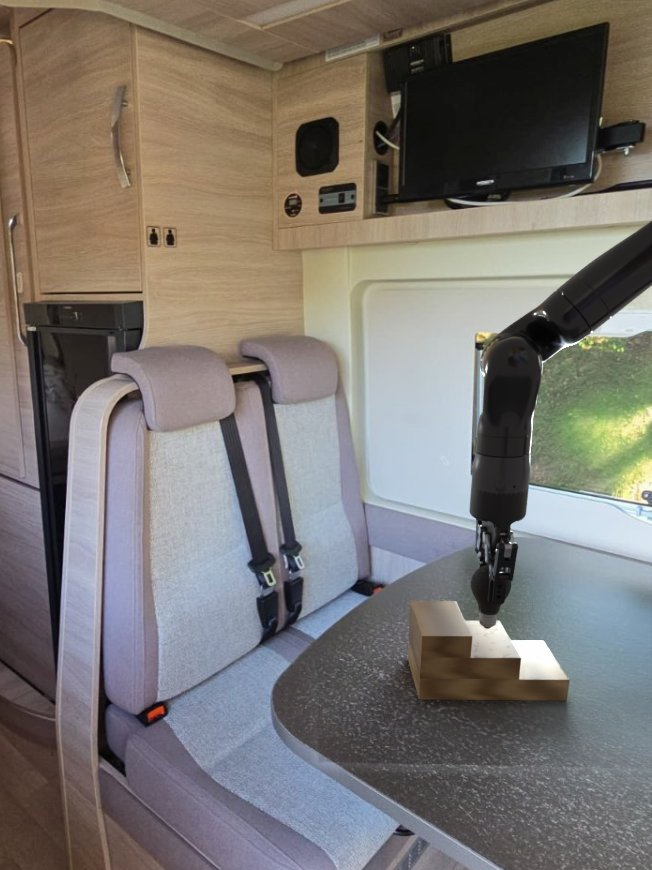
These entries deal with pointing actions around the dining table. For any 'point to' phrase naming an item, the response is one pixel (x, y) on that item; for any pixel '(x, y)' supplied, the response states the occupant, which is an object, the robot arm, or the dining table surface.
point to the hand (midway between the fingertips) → (490, 593)
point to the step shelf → (527, 688)
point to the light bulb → (486, 596)
